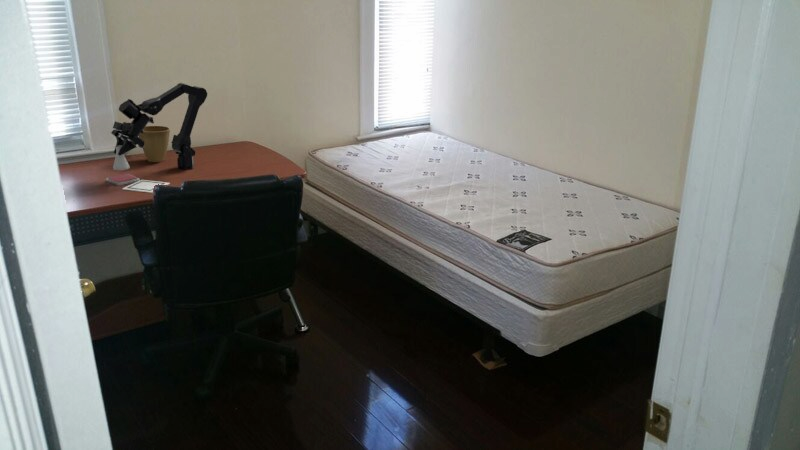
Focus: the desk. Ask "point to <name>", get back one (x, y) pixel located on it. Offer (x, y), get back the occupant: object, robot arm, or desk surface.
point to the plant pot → (155, 142)
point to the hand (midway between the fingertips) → (116, 154)
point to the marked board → (144, 186)
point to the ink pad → (122, 179)
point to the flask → (120, 161)
